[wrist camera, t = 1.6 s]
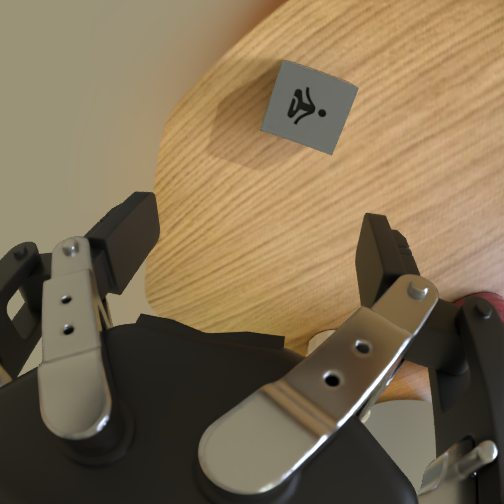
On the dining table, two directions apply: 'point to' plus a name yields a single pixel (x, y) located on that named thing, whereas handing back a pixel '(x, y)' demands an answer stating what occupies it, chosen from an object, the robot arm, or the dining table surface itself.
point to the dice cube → (308, 106)
